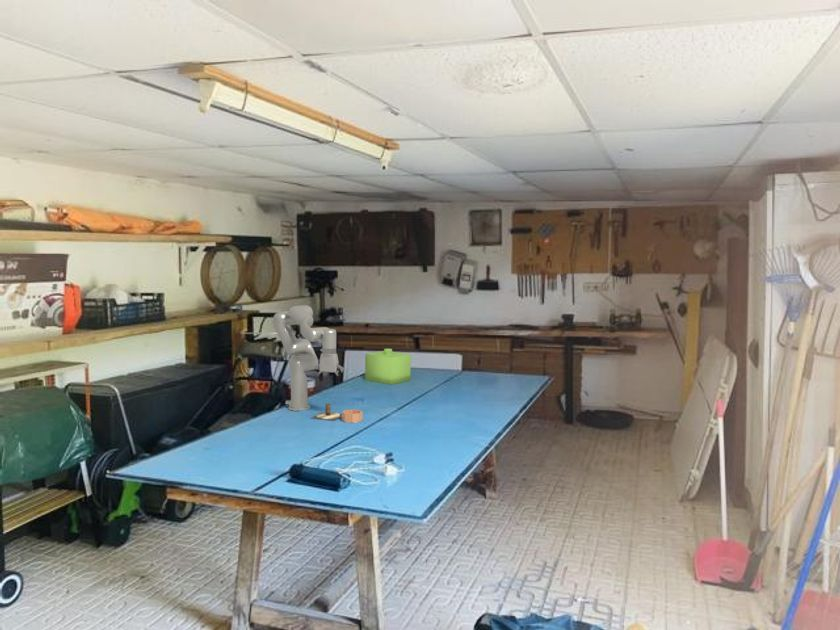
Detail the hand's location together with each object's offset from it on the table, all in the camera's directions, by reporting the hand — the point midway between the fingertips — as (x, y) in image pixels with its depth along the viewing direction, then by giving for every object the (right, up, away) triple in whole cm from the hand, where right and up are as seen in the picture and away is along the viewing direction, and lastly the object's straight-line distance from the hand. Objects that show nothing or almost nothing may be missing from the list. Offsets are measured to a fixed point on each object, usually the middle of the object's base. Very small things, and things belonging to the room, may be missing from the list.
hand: (329, 381), depth 365 cm
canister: (+27, -11, +111) cm, 115 cm away
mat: (-1, -20, +2) cm, 20 cm away
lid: (-1, -20, +2) cm, 20 cm away
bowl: (+13, -21, -5) cm, 26 cm away
